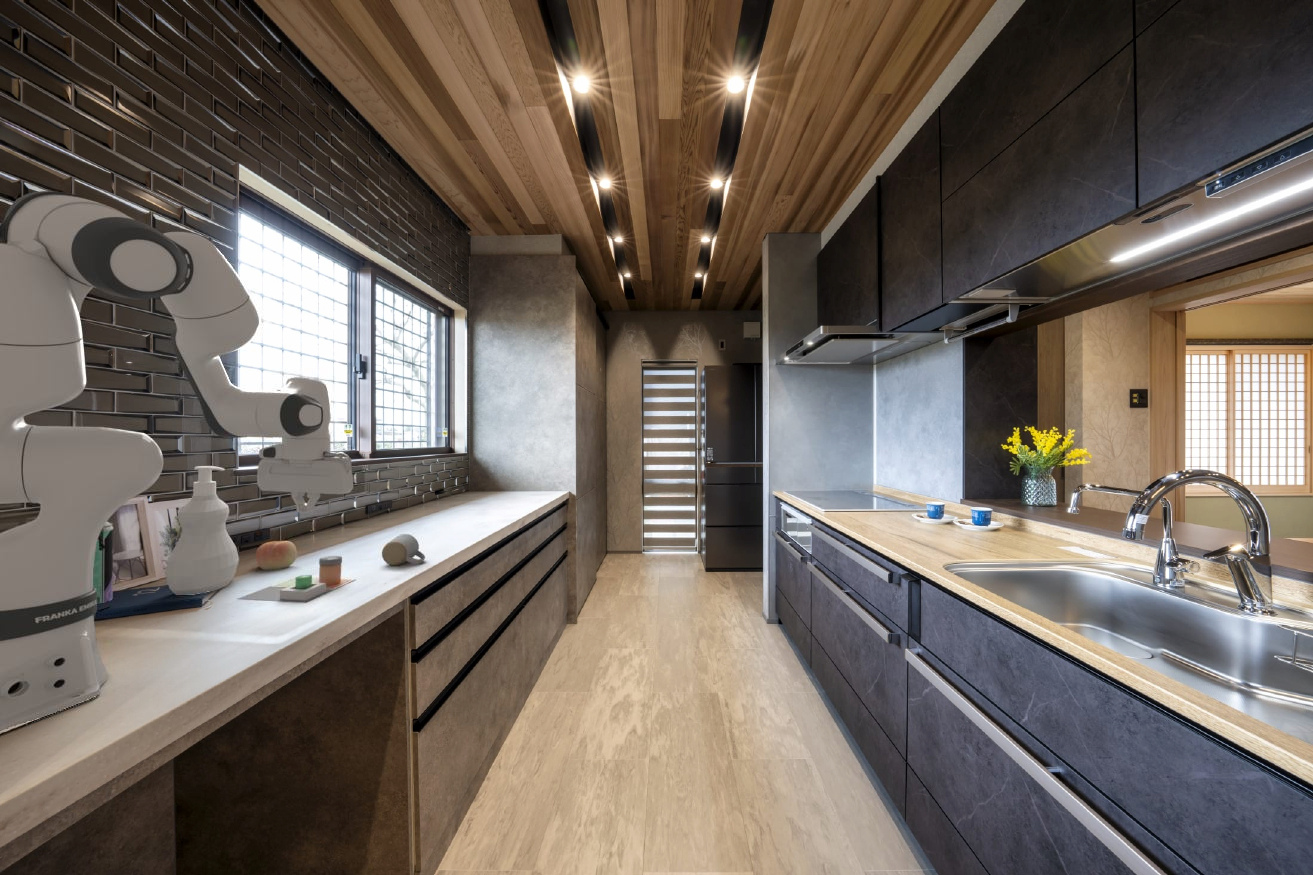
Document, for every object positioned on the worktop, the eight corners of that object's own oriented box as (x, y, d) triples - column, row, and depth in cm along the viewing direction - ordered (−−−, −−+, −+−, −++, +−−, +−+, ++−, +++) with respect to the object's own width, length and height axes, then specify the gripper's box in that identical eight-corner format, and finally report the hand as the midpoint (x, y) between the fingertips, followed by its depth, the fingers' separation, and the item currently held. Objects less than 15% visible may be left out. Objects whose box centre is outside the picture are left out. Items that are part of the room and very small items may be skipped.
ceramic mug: (379, 566, 137) (380, 539, 137) (392, 558, 145) (393, 533, 145) (418, 567, 138) (419, 540, 137) (429, 559, 146) (430, 534, 146)
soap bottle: (215, 602, 107) (216, 469, 106) (147, 607, 103) (149, 469, 102) (250, 579, 123) (252, 463, 122) (193, 582, 119) (194, 463, 118)
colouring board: (306, 607, 105) (306, 593, 105) (236, 604, 106) (236, 589, 106) (356, 584, 121) (356, 571, 121) (295, 581, 122) (295, 568, 122)
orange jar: (331, 586, 115) (332, 561, 115) (313, 585, 116) (314, 560, 115) (345, 580, 120) (346, 556, 120) (328, 579, 120) (329, 555, 120)
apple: (255, 577, 125) (255, 546, 124) (255, 568, 131) (256, 539, 131) (297, 571, 130) (297, 542, 130) (295, 563, 137) (296, 535, 137)
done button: (304, 589, 108) (304, 579, 108) (291, 589, 108) (292, 578, 108) (315, 585, 111) (315, 575, 111) (302, 584, 111) (302, 574, 111)
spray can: (120, 604, 104) (120, 512, 104) (87, 614, 99) (88, 516, 98) (97, 603, 105) (98, 510, 104) (64, 612, 99) (65, 515, 99)
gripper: (360, 452, 111) (359, 511, 112) (276, 448, 113) (275, 507, 113) (340, 453, 105) (339, 516, 105) (251, 449, 106) (250, 512, 107)
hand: (305, 512), depth 109 cm, fingers closed
